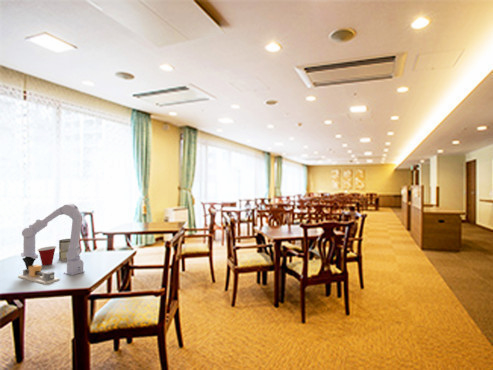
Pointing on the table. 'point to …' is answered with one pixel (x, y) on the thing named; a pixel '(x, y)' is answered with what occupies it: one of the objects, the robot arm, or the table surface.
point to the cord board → (39, 277)
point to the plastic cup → (47, 255)
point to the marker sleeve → (34, 270)
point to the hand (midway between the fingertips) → (29, 269)
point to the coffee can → (63, 248)
